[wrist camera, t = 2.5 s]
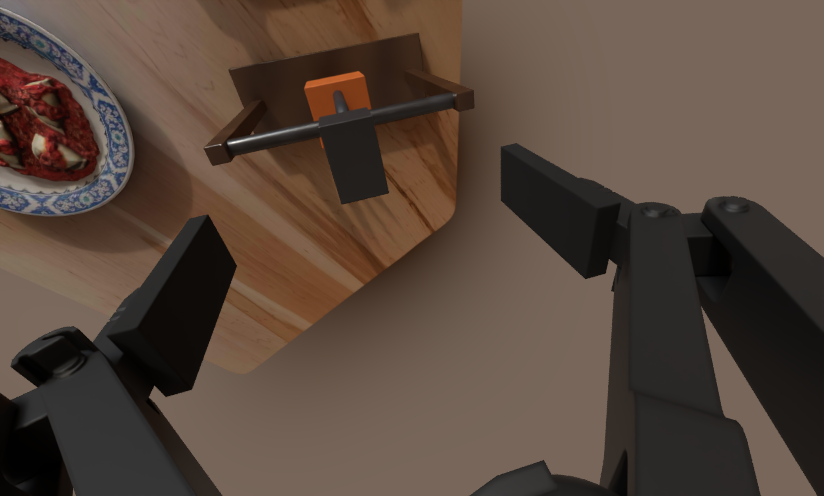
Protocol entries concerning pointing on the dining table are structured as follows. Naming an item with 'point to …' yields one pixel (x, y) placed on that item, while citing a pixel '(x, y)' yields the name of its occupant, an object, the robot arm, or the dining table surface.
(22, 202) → the ceramic plate
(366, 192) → the orange block with hook
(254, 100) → the rack
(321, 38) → the dining table surface
